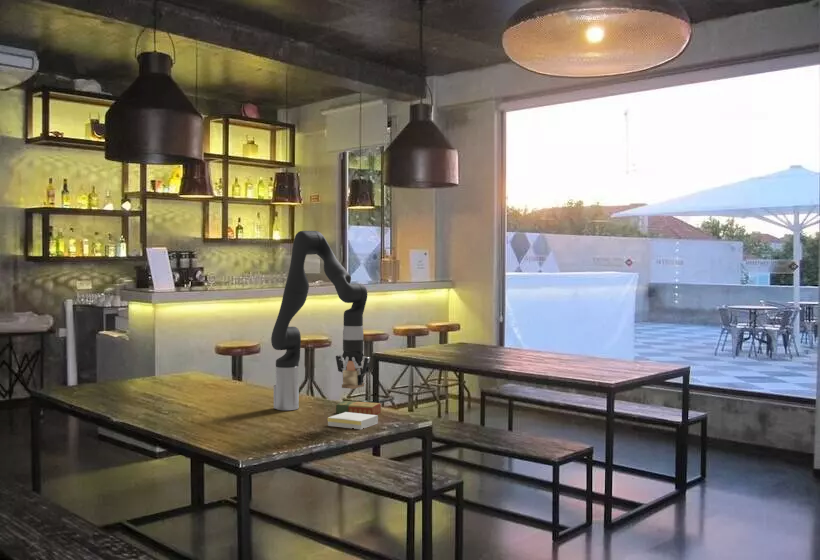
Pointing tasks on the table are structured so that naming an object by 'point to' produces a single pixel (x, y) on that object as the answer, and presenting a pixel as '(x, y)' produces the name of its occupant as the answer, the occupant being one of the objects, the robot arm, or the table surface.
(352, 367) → the block
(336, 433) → the table surface
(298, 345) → the robot arm
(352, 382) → the wooden stepped block
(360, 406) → the carton
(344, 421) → the dock
